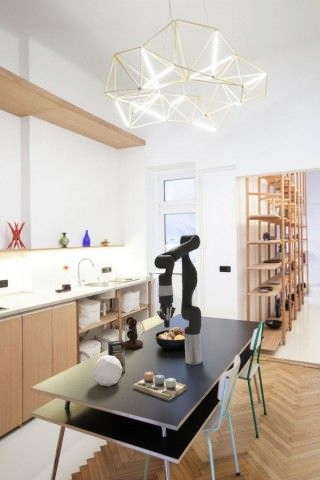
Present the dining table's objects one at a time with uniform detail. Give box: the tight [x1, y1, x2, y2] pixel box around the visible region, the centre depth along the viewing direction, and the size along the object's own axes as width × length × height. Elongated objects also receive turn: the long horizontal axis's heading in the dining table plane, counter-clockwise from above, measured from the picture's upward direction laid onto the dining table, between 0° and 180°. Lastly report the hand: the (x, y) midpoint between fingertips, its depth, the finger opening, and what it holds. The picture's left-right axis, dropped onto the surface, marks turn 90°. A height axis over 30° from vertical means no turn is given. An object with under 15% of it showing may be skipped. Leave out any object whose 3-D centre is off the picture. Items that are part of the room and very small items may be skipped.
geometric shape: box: [92, 354, 123, 387], centre depth 169 cm, size 14×15×15 cm
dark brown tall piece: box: [123, 316, 144, 351], centre depth 229 cm, size 15×15×20 cm
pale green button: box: [165, 377, 177, 388], centre depth 156 cm, size 5×5×2 cm
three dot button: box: [154, 374, 166, 384], centre depth 161 cm, size 5×5×2 cm
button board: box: [132, 378, 188, 401], centre depth 161 cm, size 14×22×3 cm, turn 50°
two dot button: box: [143, 371, 155, 381], centre depth 165 cm, size 5×5×2 cm
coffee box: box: [107, 339, 126, 373], centre depth 187 cm, size 9×6×16 cm
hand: (167, 327), depth 172 cm, fingers closed
